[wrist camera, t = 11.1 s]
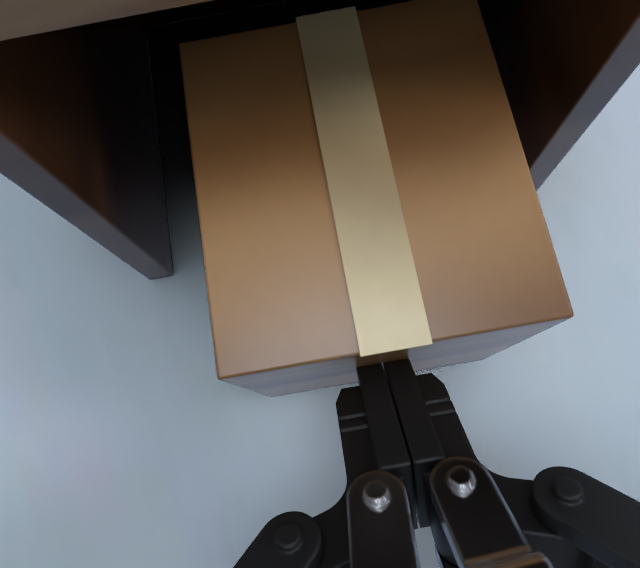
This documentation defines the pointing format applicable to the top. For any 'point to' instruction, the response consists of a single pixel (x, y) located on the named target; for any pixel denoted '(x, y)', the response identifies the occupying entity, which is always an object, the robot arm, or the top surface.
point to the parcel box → (363, 197)
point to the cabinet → (189, 3)
